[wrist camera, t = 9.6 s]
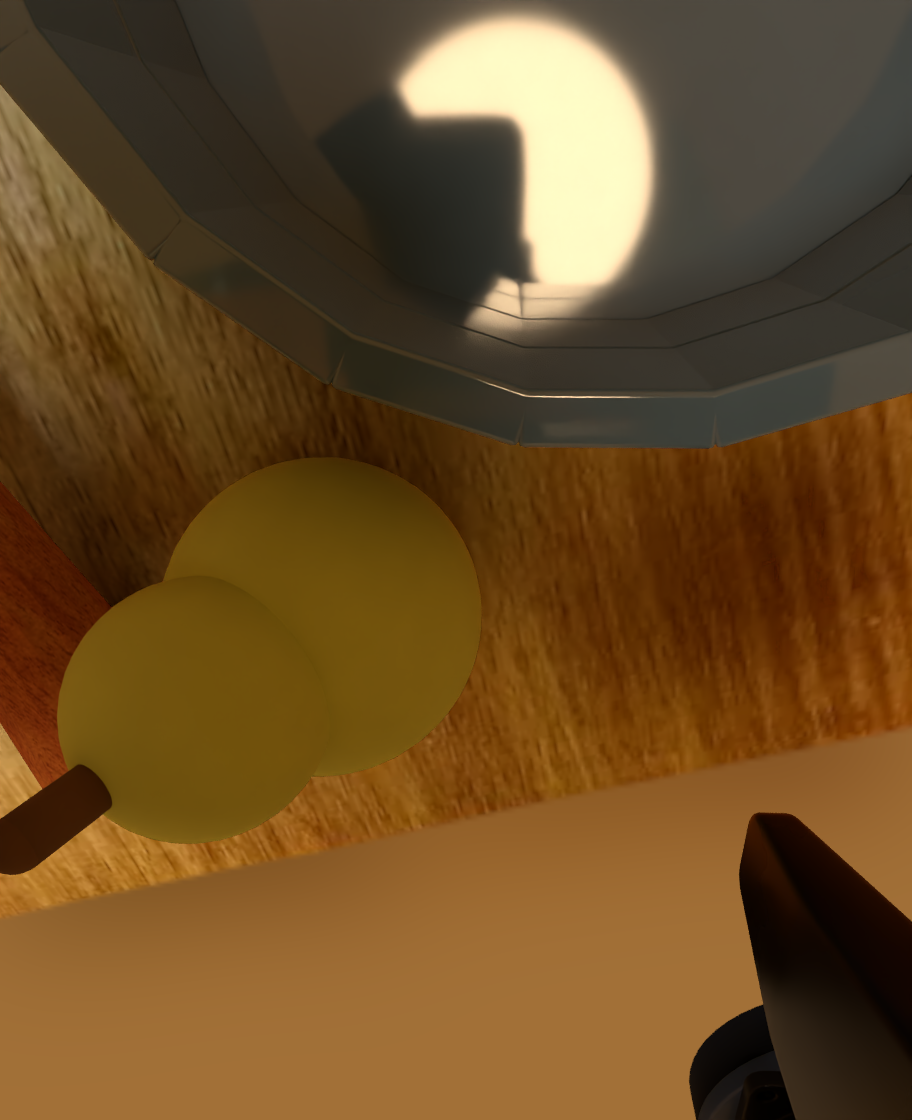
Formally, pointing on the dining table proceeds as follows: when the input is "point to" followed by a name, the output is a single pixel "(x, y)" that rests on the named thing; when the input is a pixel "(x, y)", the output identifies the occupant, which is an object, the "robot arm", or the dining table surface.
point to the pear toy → (261, 660)
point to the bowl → (514, 196)
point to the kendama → (38, 634)
